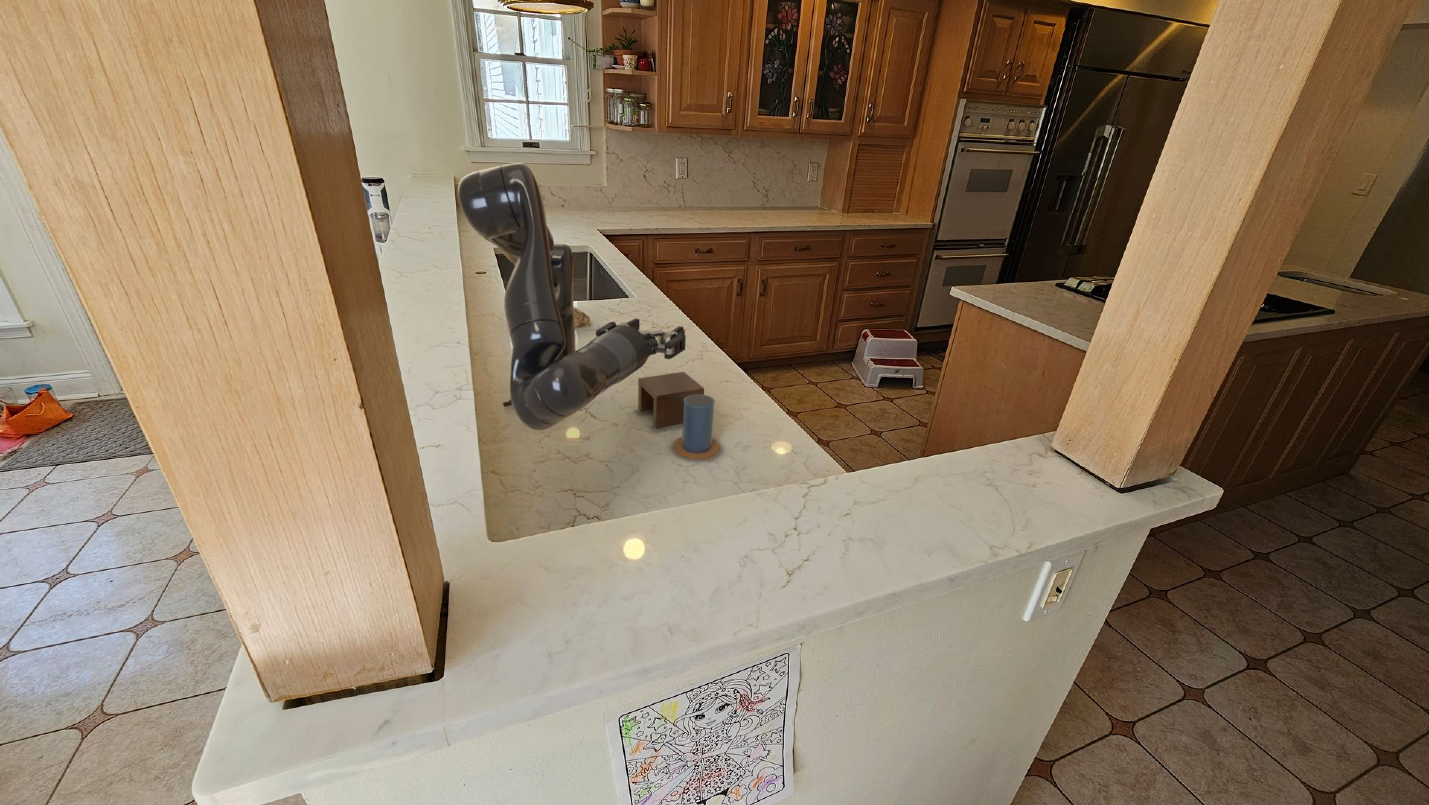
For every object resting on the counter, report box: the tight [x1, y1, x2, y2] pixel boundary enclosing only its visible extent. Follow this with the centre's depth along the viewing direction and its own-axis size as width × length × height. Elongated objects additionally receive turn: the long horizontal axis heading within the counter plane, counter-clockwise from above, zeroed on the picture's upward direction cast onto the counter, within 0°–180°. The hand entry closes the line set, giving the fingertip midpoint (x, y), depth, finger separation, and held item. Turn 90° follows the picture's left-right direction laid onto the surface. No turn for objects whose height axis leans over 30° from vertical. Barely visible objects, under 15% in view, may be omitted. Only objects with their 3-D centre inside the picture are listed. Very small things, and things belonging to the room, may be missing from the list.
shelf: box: [637, 371, 705, 430], centre depth 132 cm, size 11×10×8 cm
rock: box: [574, 306, 592, 329], centre depth 181 cm, size 28×22×16 cm
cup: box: [681, 394, 716, 453], centre depth 119 cm, size 6×6×10 cm
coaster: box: [673, 437, 720, 461], centre depth 122 cm, size 9×9×1 cm
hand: (659, 327), depth 107 cm, fingers open, 8 cm apart
